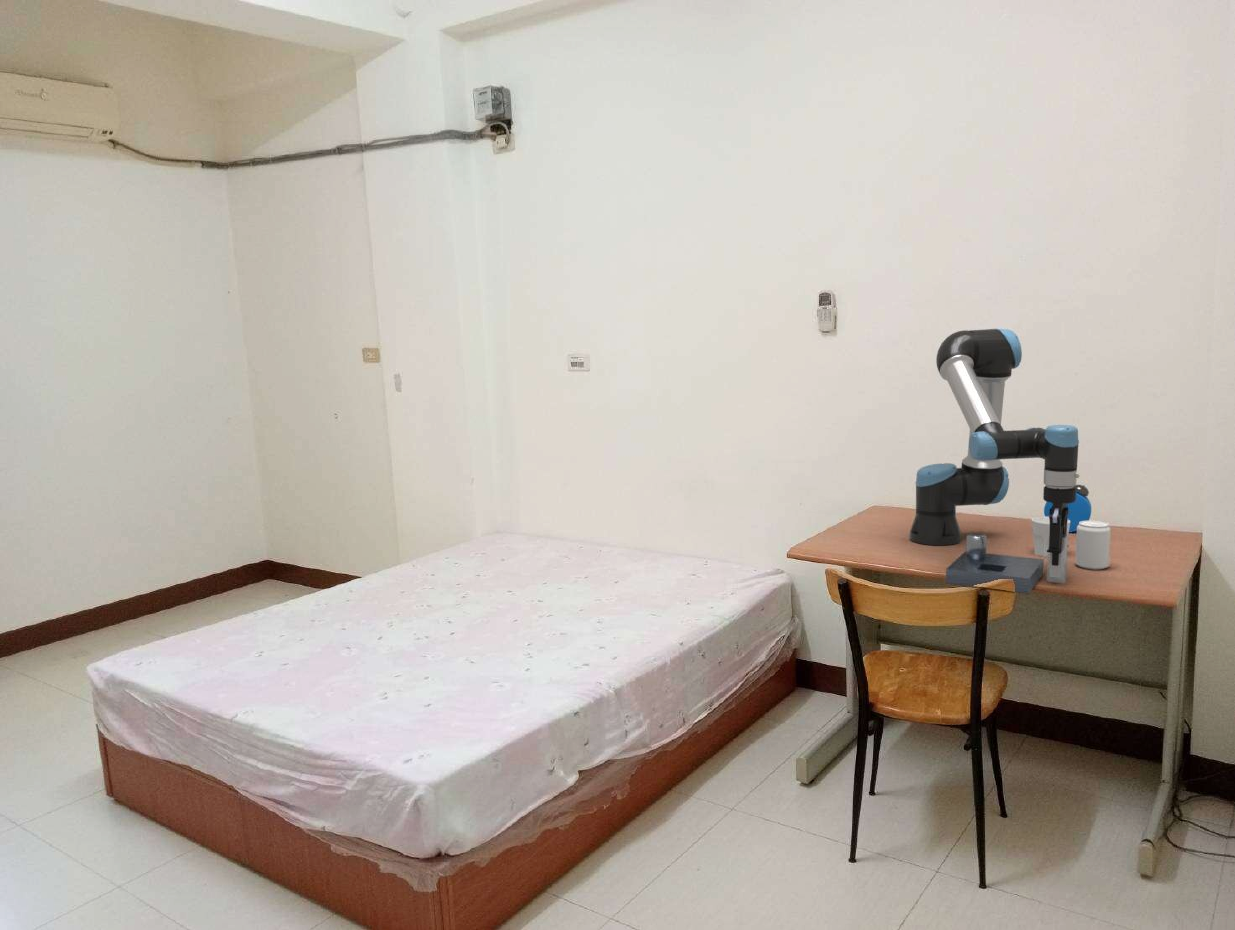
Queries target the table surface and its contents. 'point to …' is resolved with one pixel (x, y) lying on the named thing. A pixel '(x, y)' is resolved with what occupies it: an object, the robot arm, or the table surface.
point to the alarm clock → (1075, 508)
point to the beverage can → (1093, 545)
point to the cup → (1042, 534)
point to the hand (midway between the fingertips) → (1056, 574)
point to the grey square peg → (1064, 562)
